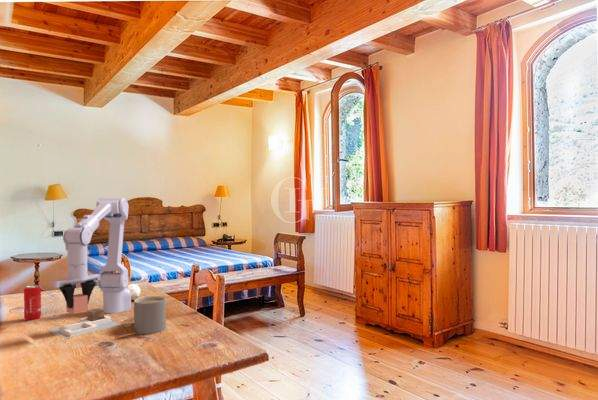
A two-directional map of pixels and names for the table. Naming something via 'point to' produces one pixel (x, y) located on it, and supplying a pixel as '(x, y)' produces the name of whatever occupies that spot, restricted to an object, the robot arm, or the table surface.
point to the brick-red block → (79, 304)
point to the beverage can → (32, 302)
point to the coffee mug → (149, 314)
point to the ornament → (134, 291)
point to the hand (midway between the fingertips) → (77, 305)
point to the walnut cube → (95, 314)
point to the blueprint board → (84, 327)
